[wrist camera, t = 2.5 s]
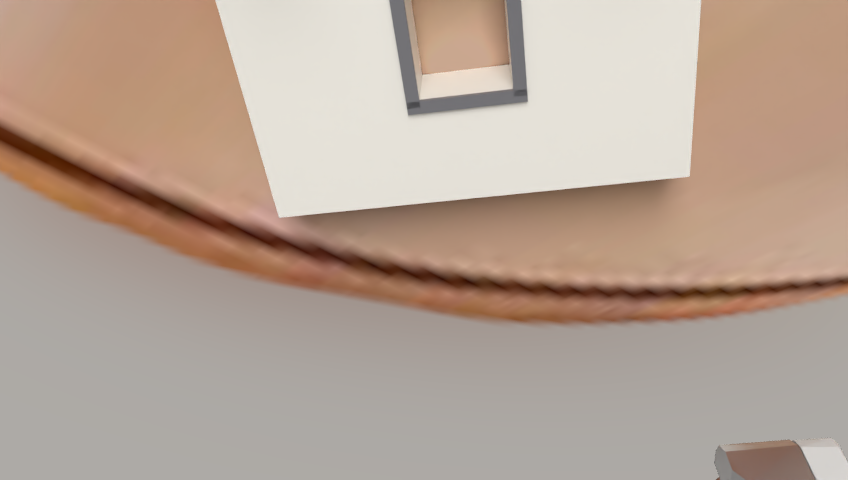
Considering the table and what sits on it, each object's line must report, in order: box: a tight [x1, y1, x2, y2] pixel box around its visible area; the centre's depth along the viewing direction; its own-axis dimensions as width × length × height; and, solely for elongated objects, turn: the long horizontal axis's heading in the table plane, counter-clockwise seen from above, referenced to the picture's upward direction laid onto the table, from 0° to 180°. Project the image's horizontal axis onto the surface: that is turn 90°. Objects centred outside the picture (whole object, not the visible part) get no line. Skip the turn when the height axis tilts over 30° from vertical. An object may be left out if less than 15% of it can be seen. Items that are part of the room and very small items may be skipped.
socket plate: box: [216, 0, 701, 218], centre depth 32 cm, size 20×18×3 cm
